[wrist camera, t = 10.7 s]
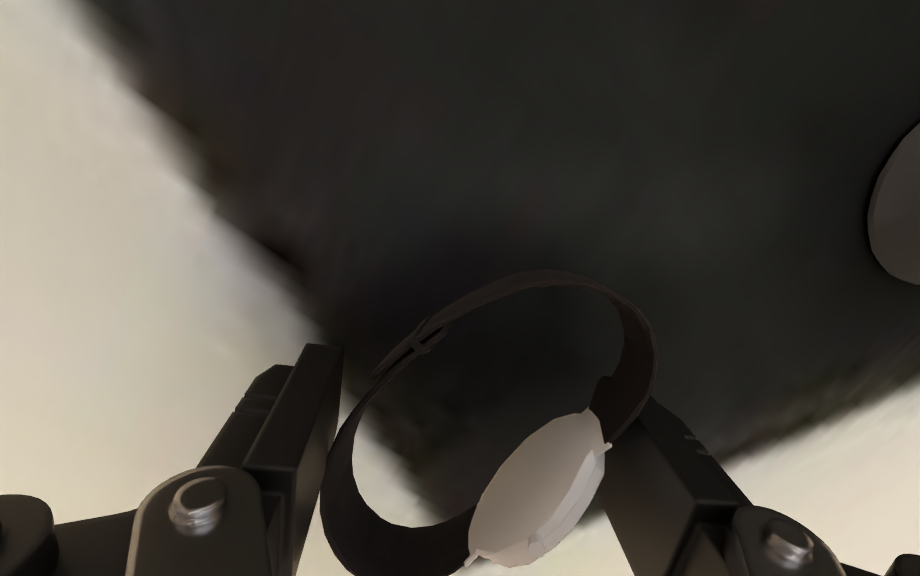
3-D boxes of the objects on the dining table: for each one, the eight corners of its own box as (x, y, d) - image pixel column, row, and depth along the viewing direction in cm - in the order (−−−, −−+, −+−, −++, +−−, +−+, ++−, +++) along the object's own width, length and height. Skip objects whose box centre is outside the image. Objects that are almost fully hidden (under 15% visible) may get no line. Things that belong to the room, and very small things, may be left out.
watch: (432, 534, 12) (435, 700, 8) (282, 439, 10) (213, 592, 7) (661, 334, 10) (776, 441, 7) (516, 192, 9) (572, 237, 5)
